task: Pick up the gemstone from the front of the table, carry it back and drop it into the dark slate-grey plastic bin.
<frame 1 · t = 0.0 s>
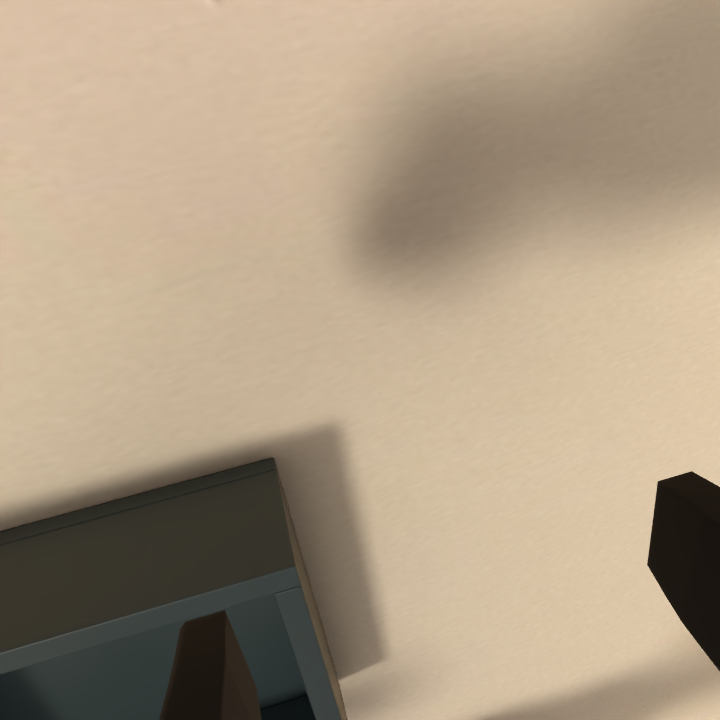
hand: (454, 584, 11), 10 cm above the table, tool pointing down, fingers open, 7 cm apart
bin: (139, 635, 24), on the table
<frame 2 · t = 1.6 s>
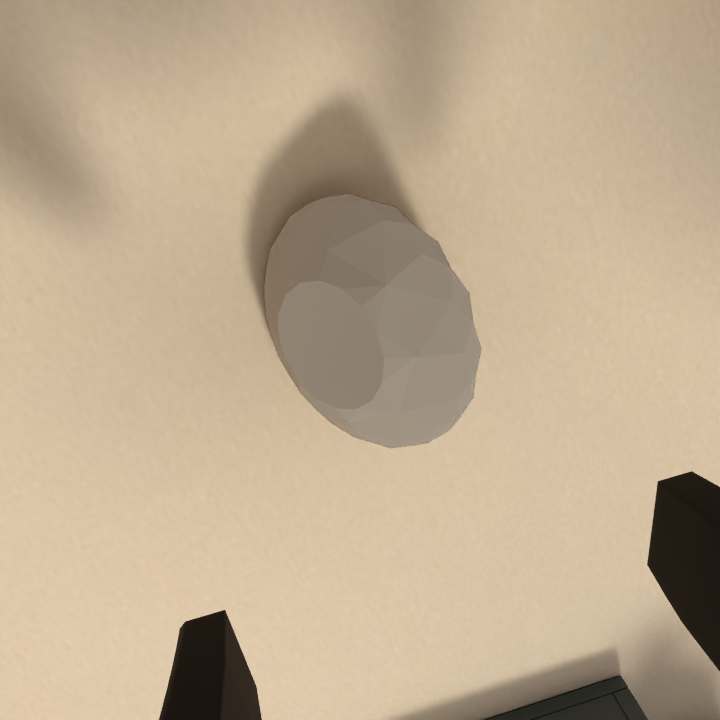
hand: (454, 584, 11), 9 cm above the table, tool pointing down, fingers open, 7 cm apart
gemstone: (351, 279, 18), on the table
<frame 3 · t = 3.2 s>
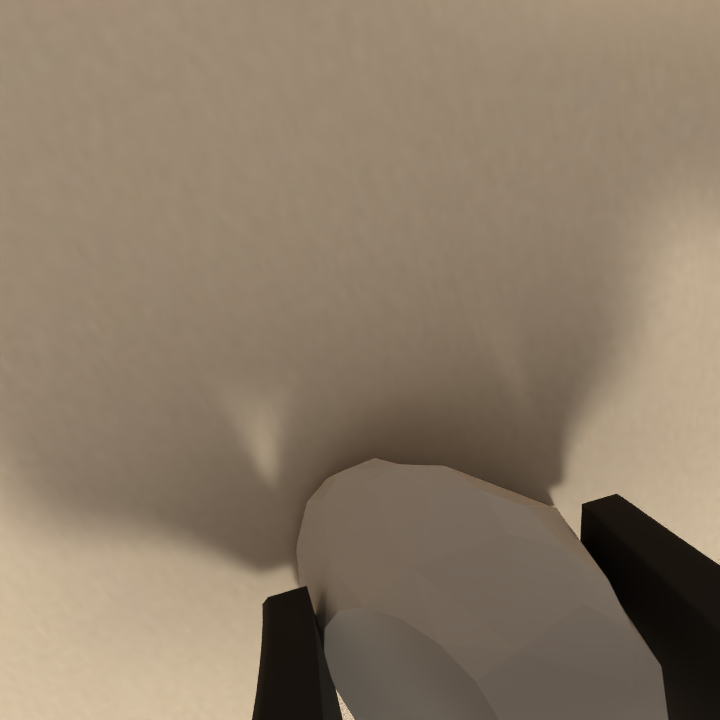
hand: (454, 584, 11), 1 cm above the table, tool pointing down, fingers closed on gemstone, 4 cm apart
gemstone: (421, 515, 12), on the table, touching gripper
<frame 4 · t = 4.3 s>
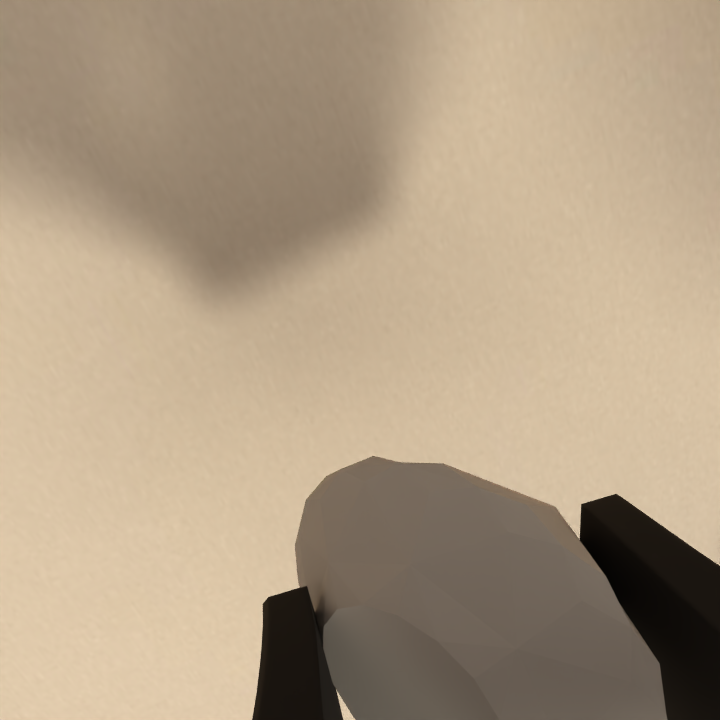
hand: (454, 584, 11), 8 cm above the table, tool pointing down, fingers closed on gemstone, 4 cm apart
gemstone: (420, 513, 12), point 6 cm above the table, touching gripper
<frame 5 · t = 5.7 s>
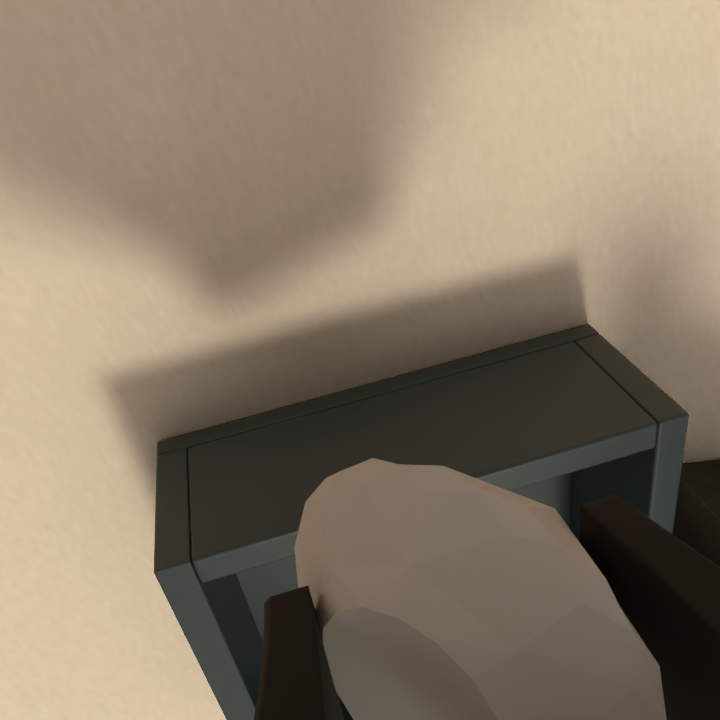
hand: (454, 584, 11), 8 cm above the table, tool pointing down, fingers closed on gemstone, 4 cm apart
bin: (407, 534, 22), on the table
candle: (670, 508, 25), on the table
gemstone: (420, 515, 12), point 7 cm above the table, touching gripper
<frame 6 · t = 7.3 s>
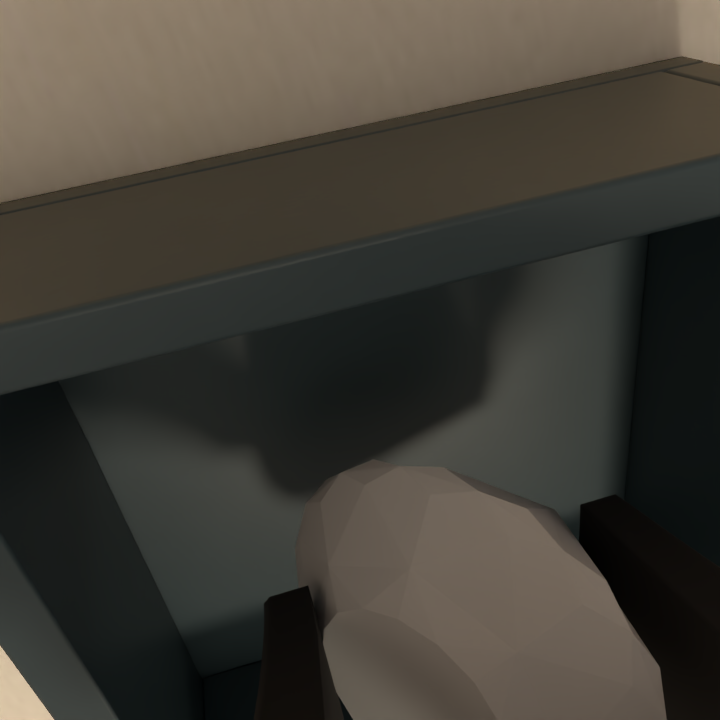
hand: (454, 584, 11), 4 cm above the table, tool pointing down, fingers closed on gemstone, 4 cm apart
bin: (384, 427, 14), on the table
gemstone: (420, 516, 12), point 3 cm above the table, touching gripper
when the fingers open (2 cm above the table, at t = 8.6 s): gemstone stays where it is, resting on bin.
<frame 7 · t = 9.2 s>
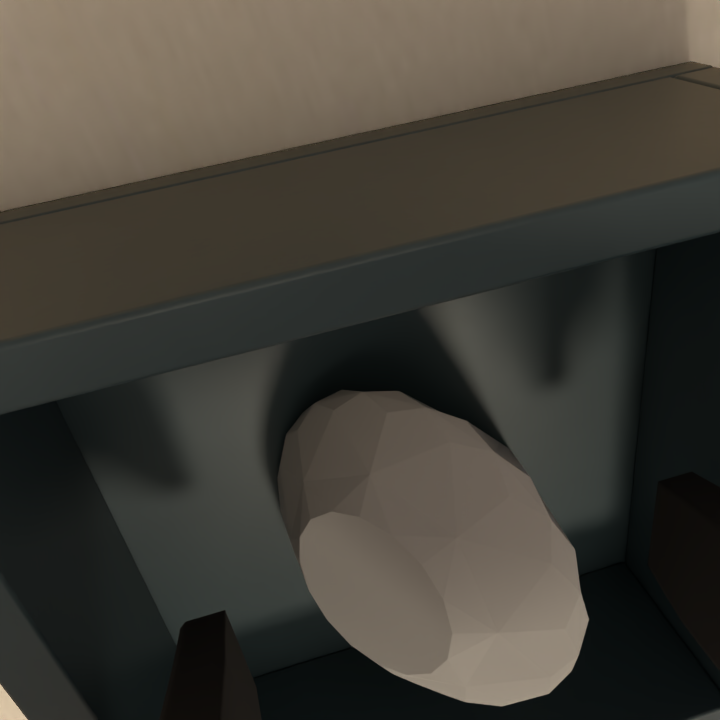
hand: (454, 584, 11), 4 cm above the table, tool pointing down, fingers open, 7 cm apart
bin: (386, 439, 14), on the table
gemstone: (389, 453, 14), resting on bin
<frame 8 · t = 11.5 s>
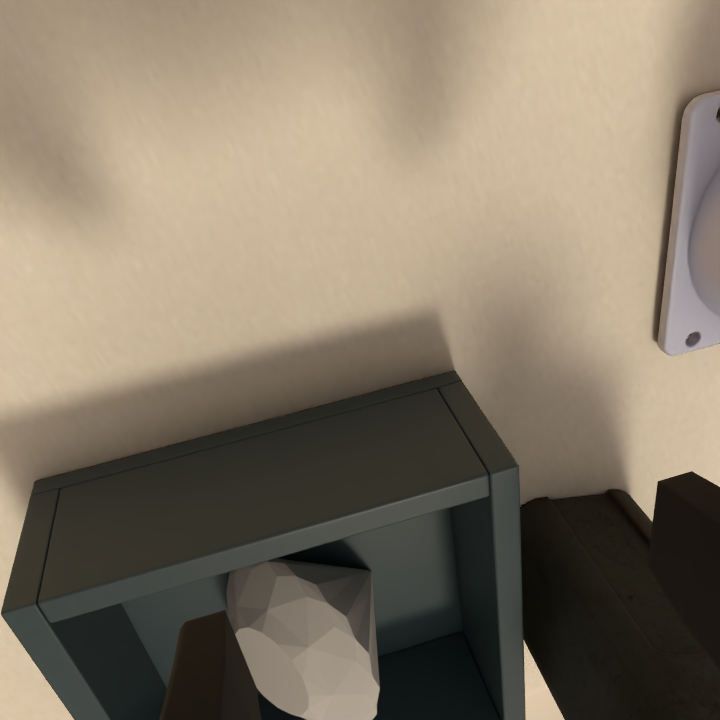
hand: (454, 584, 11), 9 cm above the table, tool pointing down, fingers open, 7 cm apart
bin: (295, 565, 23), on the table
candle: (560, 539, 26), on the table
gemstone: (295, 575, 23), resting on bin
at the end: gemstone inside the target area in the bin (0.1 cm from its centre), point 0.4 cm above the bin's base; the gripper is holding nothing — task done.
